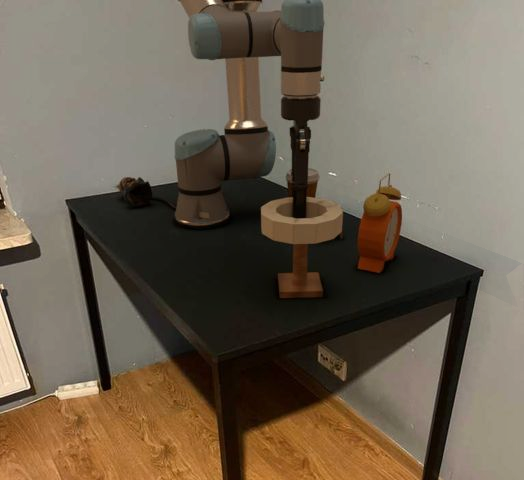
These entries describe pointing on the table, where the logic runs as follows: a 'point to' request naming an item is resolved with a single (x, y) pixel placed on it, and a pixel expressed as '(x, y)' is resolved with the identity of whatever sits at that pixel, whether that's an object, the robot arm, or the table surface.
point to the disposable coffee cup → (312, 182)
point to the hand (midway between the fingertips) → (298, 216)
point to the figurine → (135, 191)
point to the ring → (301, 221)
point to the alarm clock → (379, 228)
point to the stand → (299, 277)
